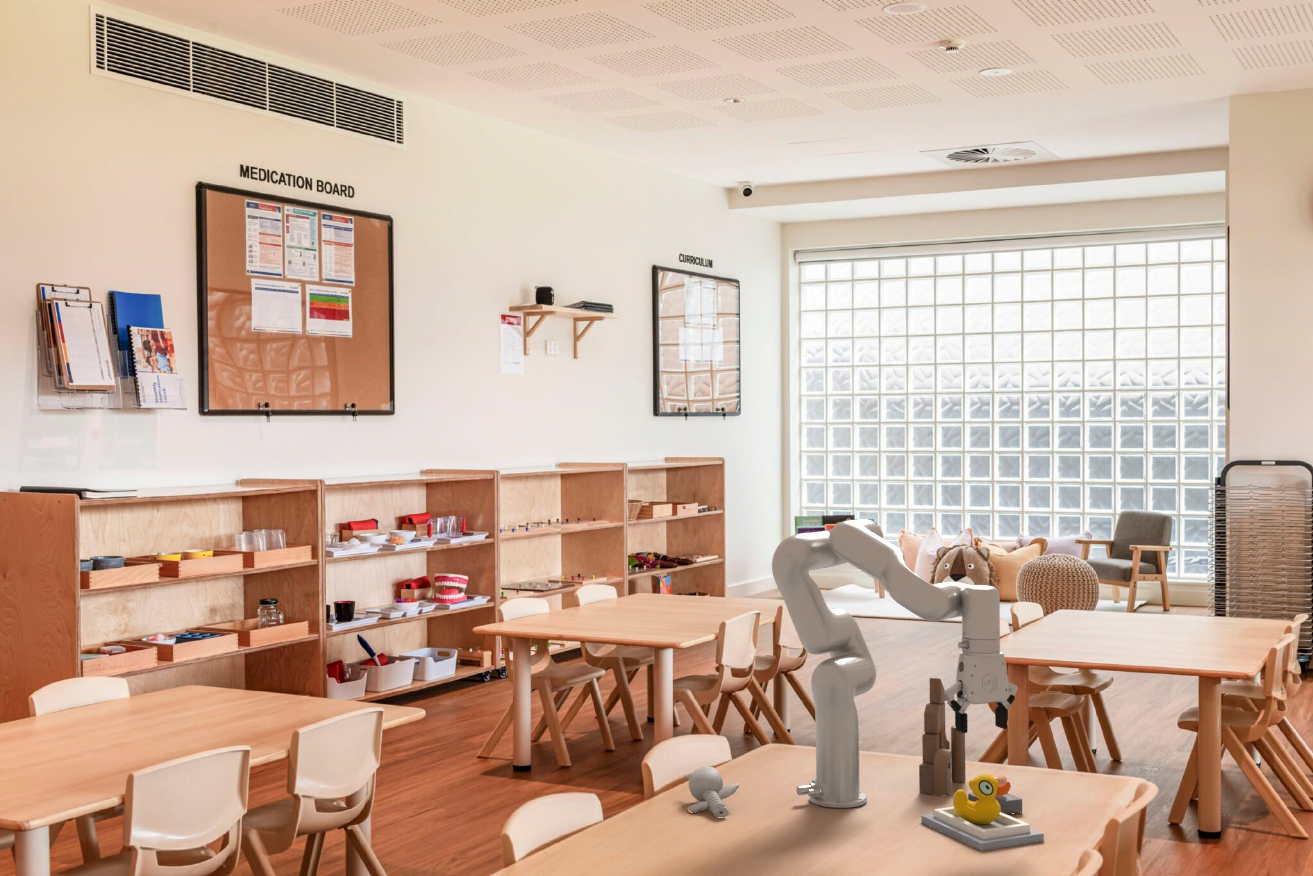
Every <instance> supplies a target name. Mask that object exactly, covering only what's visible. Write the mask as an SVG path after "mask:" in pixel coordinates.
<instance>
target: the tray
mask: <svg viewBox="0 0 1313 876" xmlns="http://www.w3.org/2000/svg"><path fill="white" fill-rule="evenodd" d="M920 817H921V819H920V821H921V822H922V823H921V824H923V823H924V825H925V824H926V826H927V825H928V827H930V826H931V827H930V828H931V829H934V828H935V829H934V830H936V829H937V830H936V831H938V832H940V831H941V832H940V833H942V834H944V833H945V835H946V834H947V836H949V837H951V838H953V837H954V838H953V839H955V838H956V840H957V839H958V840H957V841H959V840H960V841H959V842H961V843H963V842H964V844H966V845H968V846H971V848H974V847H975V849H976V850H978V851H980V852H983V851H988V850H989V851H990V849H991V850H996V849H1002V848H1001V847H1003V848H1009V847H1014V846H1013V845H1016V846H1021V845H1020V844H1022V845H1027V843H1029V844H1032V843H1031V842H1035V843H1040V842H1039V841H1041V842H1044V841H1045V840H1044V838H1045V837H1044V835H1045V834H1044V832H1041V831H1038V830H1036V829H1034V828H1032V827H1031V824H1030V823H1028V822H1025V821H1022V820H1020V819H1019V818H1015V817H1013V816H1012V815H1006V814H1004V813H1001V812H1000V814H999V816H998V817H997V818H996V819H995V820H994V821H993V822H991V823H989V824H976V823H971V822H968V821H966V820H964V819H962V818H961V817H959V816H958V815H957V813H956V812H955V809H954V806H949V807H943V808H935V809H933V813H928V814H922V815H921V816H920Z"/></svg>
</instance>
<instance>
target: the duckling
mask: <svg viewBox="0 0 1313 876" xmlns="http://www.w3.org/2000/svg"><path fill="white" fill-rule="evenodd" d="M988 774H989V773H988ZM988 774H987V773H983V774H982V773H981V774H979V775H977V776H975V777H974V778H972V779H969V781H968V787H969V789H970V790H971V791H972V792H971V793H973V794H974V795H975V796H976V797H977V798H978V800H977V801H976V802H972V801H970V800H968V794H967V793H966V791H965V789H958V790H957V791H956V792H954V794H953V800H952V801H953V807H954V809H955V812H956V813H957V815H958V816H959V817H961V818H962V819H964V820H966V821H968V822H971V823H976V824H989V823H991V822H993V821H994V820H995V819H996V818H997V817H998V816H999V814H1000V811H1001V807H1000V804H999V803H998V801H997V800H996V799H995V796H996V795H997V796H1003V795H1005V794H1007V793H1008V794H1009V792H1010V790H1011V782H1010V781H1007V783H1006V784H1004V785H999V784H998V781H997V780H996V778H994V777H993V776H991V775H988Z"/></svg>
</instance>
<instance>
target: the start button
mask: <svg viewBox="0 0 1313 876" xmlns="http://www.w3.org/2000/svg"><path fill="white" fill-rule="evenodd" d="M988 775H991V776H993V777H994V778H996V780H997V781H998V784H999V785H1004V784H1006V783H1007V782H1008V778H1007V776H1006V775H1002V774H997V773H996V774H995V773H988Z"/></svg>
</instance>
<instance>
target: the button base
mask: <svg viewBox="0 0 1313 876" xmlns="http://www.w3.org/2000/svg"><path fill="white" fill-rule="evenodd" d="M967 798H968V800H970V801H972V802H976V801H977V800H978V798H977V797H976V796H975V795H974V794H973V792H970V793H967ZM995 799H996V800H997V801H998V803H999V804H1000V807H1001V811H1000V812H1001V813H1004V814H1006V815H1008V814H1012V813H1019V814H1021V813H1020V812H1022V813H1023V798H1021V797H1019V796H1015V795H1013V794H1011V793H1009V792H1008V793H1007V794H1005V795H1003V796H997V795H996V796H995ZM1012 815H1013V814H1012Z"/></svg>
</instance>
